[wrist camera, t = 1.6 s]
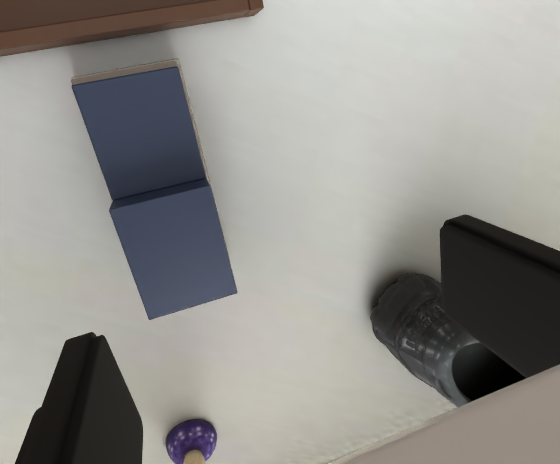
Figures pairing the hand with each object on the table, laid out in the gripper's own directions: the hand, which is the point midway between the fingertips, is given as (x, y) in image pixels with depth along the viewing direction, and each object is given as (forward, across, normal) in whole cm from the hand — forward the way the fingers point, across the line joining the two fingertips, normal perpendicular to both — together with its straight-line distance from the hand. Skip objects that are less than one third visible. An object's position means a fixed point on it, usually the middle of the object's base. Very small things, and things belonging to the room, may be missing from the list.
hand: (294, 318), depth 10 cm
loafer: (+18, -21, +24) cm, 36 cm away
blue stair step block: (+18, +3, -1) cm, 19 cm away
